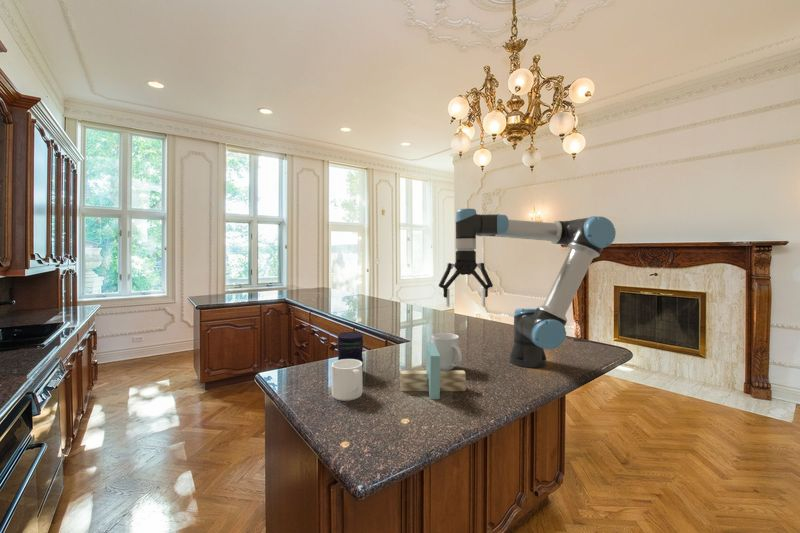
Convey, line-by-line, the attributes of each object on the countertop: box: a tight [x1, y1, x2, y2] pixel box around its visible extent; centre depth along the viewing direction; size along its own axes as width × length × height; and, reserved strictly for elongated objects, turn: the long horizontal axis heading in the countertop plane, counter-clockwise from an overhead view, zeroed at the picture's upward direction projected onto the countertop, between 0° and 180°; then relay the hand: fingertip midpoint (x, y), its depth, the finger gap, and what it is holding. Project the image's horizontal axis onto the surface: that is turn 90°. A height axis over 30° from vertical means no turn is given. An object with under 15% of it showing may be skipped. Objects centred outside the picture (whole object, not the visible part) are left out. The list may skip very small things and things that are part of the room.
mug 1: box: [331, 359, 363, 402], centre depth 115 cm, size 13×10×10 cm
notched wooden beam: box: [399, 369, 467, 392], centre depth 121 cm, size 22×3×6 cm, turn 91°
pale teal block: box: [425, 342, 441, 400], centre depth 120 cm, size 16×3×14 cm, turn 1°
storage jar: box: [336, 331, 364, 375], centre depth 136 cm, size 10×10×15 cm
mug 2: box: [430, 332, 463, 371], centre depth 141 cm, size 15×11×13 cm
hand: (465, 306), depth 134 cm, fingers open, 13 cm apart
